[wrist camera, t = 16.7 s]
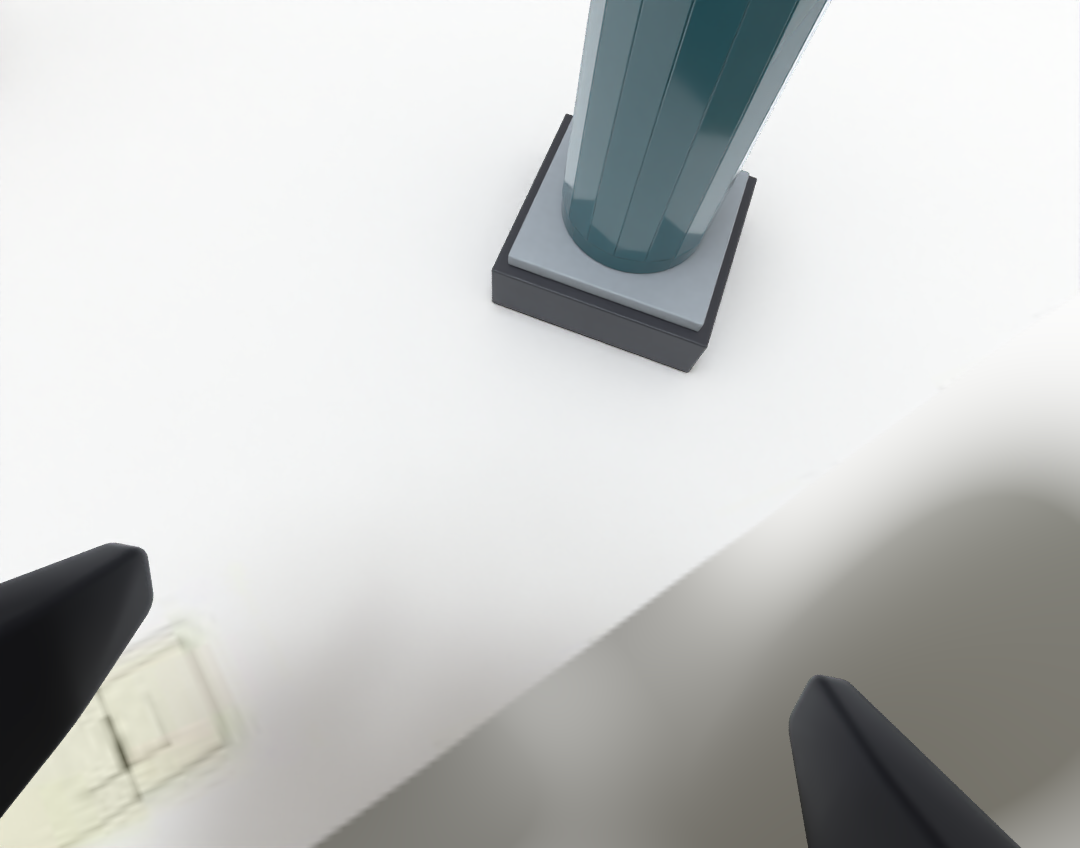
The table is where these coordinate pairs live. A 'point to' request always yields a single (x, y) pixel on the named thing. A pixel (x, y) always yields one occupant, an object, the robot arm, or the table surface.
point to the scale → (615, 275)
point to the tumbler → (671, 118)
